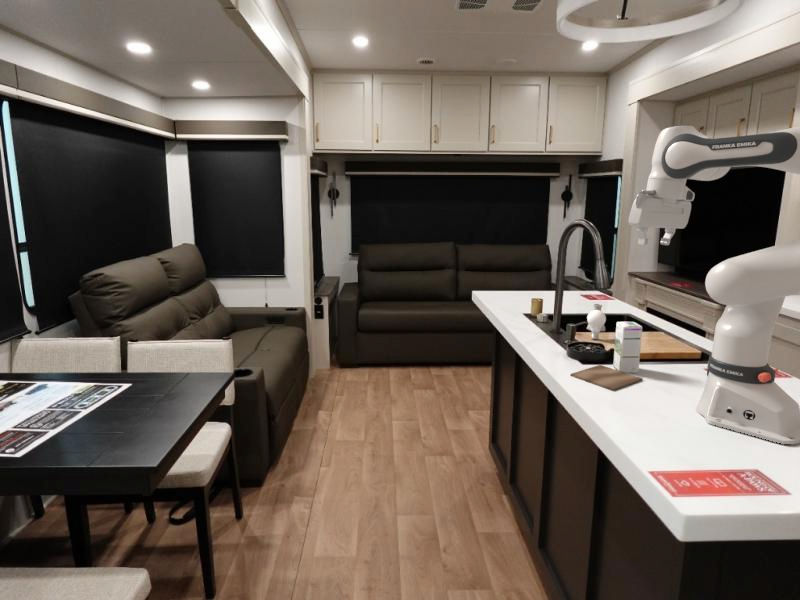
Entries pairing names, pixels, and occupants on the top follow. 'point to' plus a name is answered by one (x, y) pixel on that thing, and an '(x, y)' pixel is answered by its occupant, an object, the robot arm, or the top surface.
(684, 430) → the top surface
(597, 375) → the walnut board
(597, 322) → the lightbulb
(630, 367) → the syrup box
